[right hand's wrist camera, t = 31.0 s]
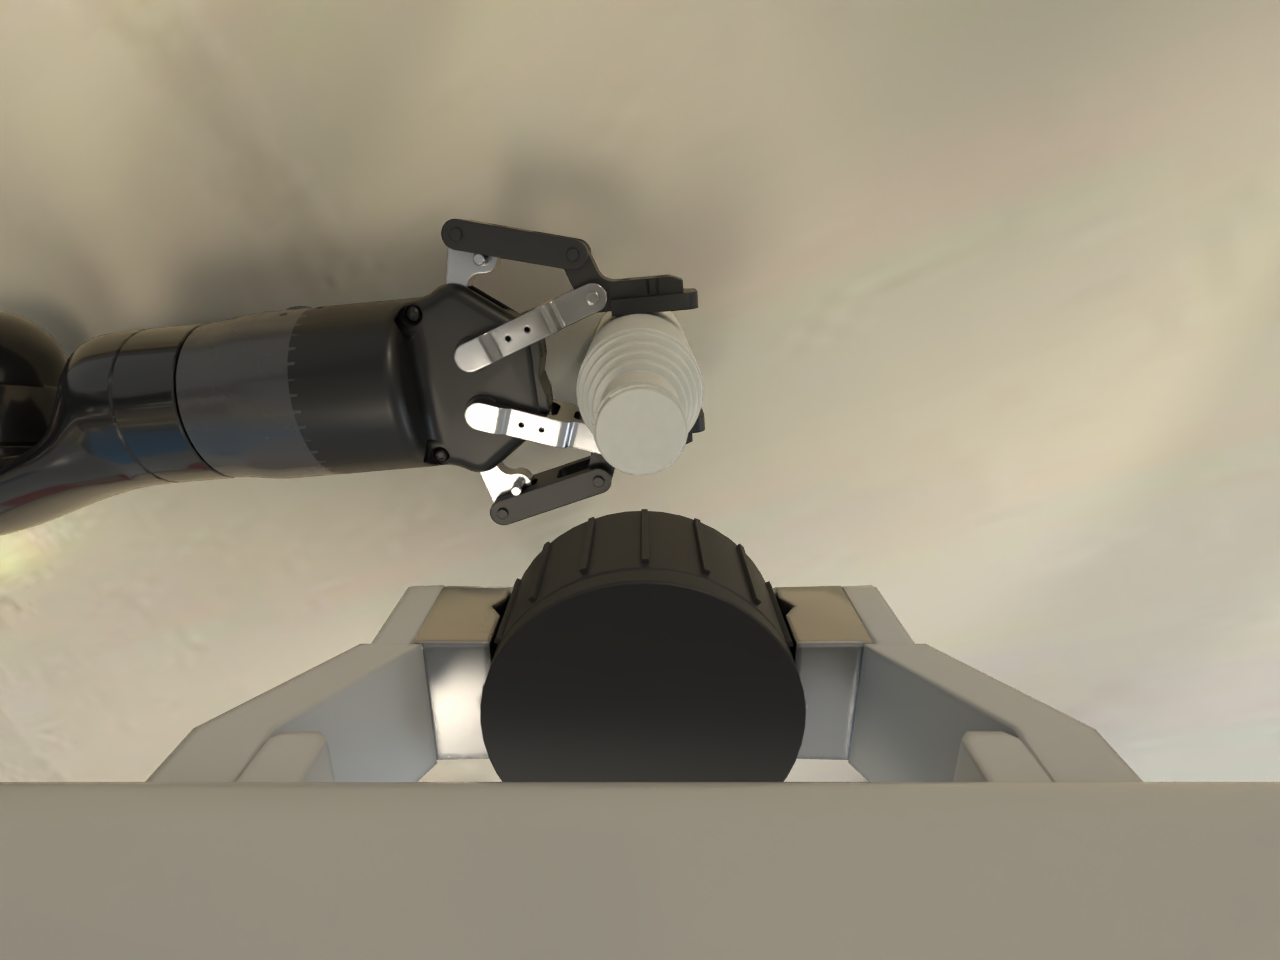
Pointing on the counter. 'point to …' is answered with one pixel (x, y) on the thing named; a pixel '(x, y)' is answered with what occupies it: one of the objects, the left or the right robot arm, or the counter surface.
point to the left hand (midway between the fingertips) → (698, 359)
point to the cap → (642, 661)
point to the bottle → (639, 391)
